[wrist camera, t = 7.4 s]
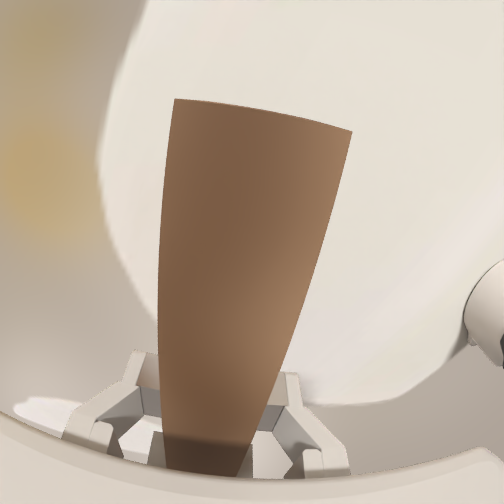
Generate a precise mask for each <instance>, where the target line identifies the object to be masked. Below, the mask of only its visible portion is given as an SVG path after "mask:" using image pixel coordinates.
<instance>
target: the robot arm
mask: <svg viewBox="0 0 504 504" xmlns="http://www.w3.org/2000/svg"><path fill="white" fill-rule="evenodd" d="M464 323H465V326H466V328H467V330H468V343H469V344H470V345H472V346H474V345H478V346H479V347H480V349H481V350H482V351H483V352H484V353H485V355H486V356H487V357H488V358H489V360H490V361H491V362H492V363H493V364H494V365H495V366H503V369H504V260H502V261H501V262H499V263H497V264H496V265H495V266H493V267H492V268H491V269H490V270H489V271H488V272H487V273H486V274H485V275H484V276H483V277H482V279H481V280H480V281H479V283H478V284H477V285H476V287H475V288H474V290H473V292H472V294H471V296H470V298H469V300H468V302H467V305H466V308H465V313H464ZM144 415H149V416H155V417H160V418H162V417H161V403H160V386H159V363H158V355H156V354H152V353H148V352H142V351H138V350H134V351H133V352H132V354H131V357H130V359H129V362H128V364H127V367H126V370H125V373H124V375H123V378H122V381H121V382H118V381H117V382H116V383H114V384H113V385H111V386H110V387H108V388H107V389H105V390H104V391H102V392H100V393H99V394H97V395H96V396H94V397H93V398H91V399H90V400H89V401H87V402H85V403H84V404H82V405H81V406H79V407H78V408H76V409H75V410H73V411H72V413H71V415H70V418H69V420H68V422H67V425H66V427H65V430H64V432H63V435H62V438H61V439H60V438H58V437H55V436H53V435H50V434H48V433H46V432H43V431H41V430H39V429H36V428H34V427H32V426H29V425H27V424H25V423H23V422H21V421H18V420H17V419H15V418H13V417H11V416H9V415H7V414H5V413H3V412H1V411H0V504H504V463H503V461H502V460H500V459H499V458H498V457H497V456H496V455H494V454H493V453H492V452H490V451H489V450H487V449H486V448H484V447H476V448H472V449H470V450H466V451H463V452H460V453H457V454H454V455H450V456H447V457H444V458H440V459H436V460H432V461H428V462H424V463H420V464H416V465H411V466H407V467H401V468H396V469H392V470H386V471H379V472H373V473H366V474H358V475H351V473H350V468H349V463H348V459H347V454H346V449H345V447H344V446H343V444H342V443H341V442H340V441H339V440H338V439H337V438H335V436H334V435H333V434H332V433H331V432H330V431H329V430H328V429H327V428H326V427H325V426H324V425H323V424H322V423H321V422H320V421H319V420H318V419H317V417H316V416H315V415H314V414H313V413H312V412H311V411H310V410H309V409H308V408H307V407H303V402H302V395H301V389H300V383H299V376H298V374H297V373H291V372H280V371H279V374H278V377H277V379H276V382H275V384H274V387H273V390H272V392H271V395H270V397H269V400H268V402H267V405H266V407H265V410H264V412H263V415H262V417H261V420H260V422H259V425H258V427H257V430H259V431H271V432H272V433H273V435H274V436H275V438H276V439H277V441H278V442H279V444H280V445H281V446H282V448H283V449H284V451H285V452H286V454H287V455H288V457H289V458H290V459H291V461H292V462H293V466H292V467H291V468H290V469H289V470H288V472H287V473H286V474H285V476H284V479H254V478H237V477H225V476H215V475H206V474H198V473H191V472H185V471H178V470H173V469H167V468H162V467H157V466H152V465H147V464H143V463H139V462H134V461H130V460H126V459H123V457H124V455H123V453H122V450H121V448H120V445H119V442H118V439H119V438H120V437H121V436H122V435H123V434H125V433H126V432H127V431H128V430H129V429H130V428H131V427H132V426H133V425H134V424H135V423H137V422H138V421H139V420H140V419H141V418H142V417H143V416H144Z"/></svg>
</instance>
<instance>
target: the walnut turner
mask: <svg viewBox="0 0 504 504" xmlns="http://www.w3.org/2000/svg"><path fill="white" fill-rule="evenodd" d="M351 135H352V131H349V130H345V129H342V128H339V127H335V126H332V125H328V124H324V123H321V122H317V121H313V120H309V119H305V118H300V117H296V116H291V115H287V114H282V113H277V112H272V111H267V110H261V109H256V108H250V107H244V106H238V105H231V104H224V103H217V102H209V101H199V100H187V99H174V106H173V112H172V119H171V126H170V134H169V142H168V150H167V158H166V168H165V177H164V188H163V199H162V212H161V227H160V245H159V268H158V363H159V386H160V403H161V417H162V429H163V433H162V432H157V431H154V433H153V438H152V442H151V447H150V452H149V457H148V462H147V465H152V466H157V467H162V468H167V469H173V470H178V471H185V472H191V473H198V474H206V475H215V476H225V477H237V478H253V460H252V459H253V458H252V444H251V442H252V439H253V437H254V434H255V432H256V430H257V427H258V425H259V422H260V420H261V417H262V415H263V412H264V410H265V407H266V405H267V402H268V400H269V397H270V395H271V392H272V390H273V387H274V384H275V382H276V379H277V377H278V374H279V371H280V369H281V366H282V363H283V360H284V358H285V355H286V352H287V350H288V347H289V344H290V341H291V338H292V335H293V333H294V330H295V327H296V324H297V321H298V318H299V315H300V312H301V309H302V306H303V303H304V300H305V297H306V294H307V291H308V288H309V285H310V282H311V279H312V276H313V273H314V269H315V266H316V263H317V260H318V257H319V253H320V250H321V247H322V243H323V240H324V237H325V233H326V230H327V226H328V223H329V219H330V216H331V212H332V209H333V205H334V202H335V198H336V194H337V191H338V187H339V183H340V179H341V176H342V172H343V168H344V164H345V160H346V156H347V152H348V148H349V144H350V140H351Z"/></svg>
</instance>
